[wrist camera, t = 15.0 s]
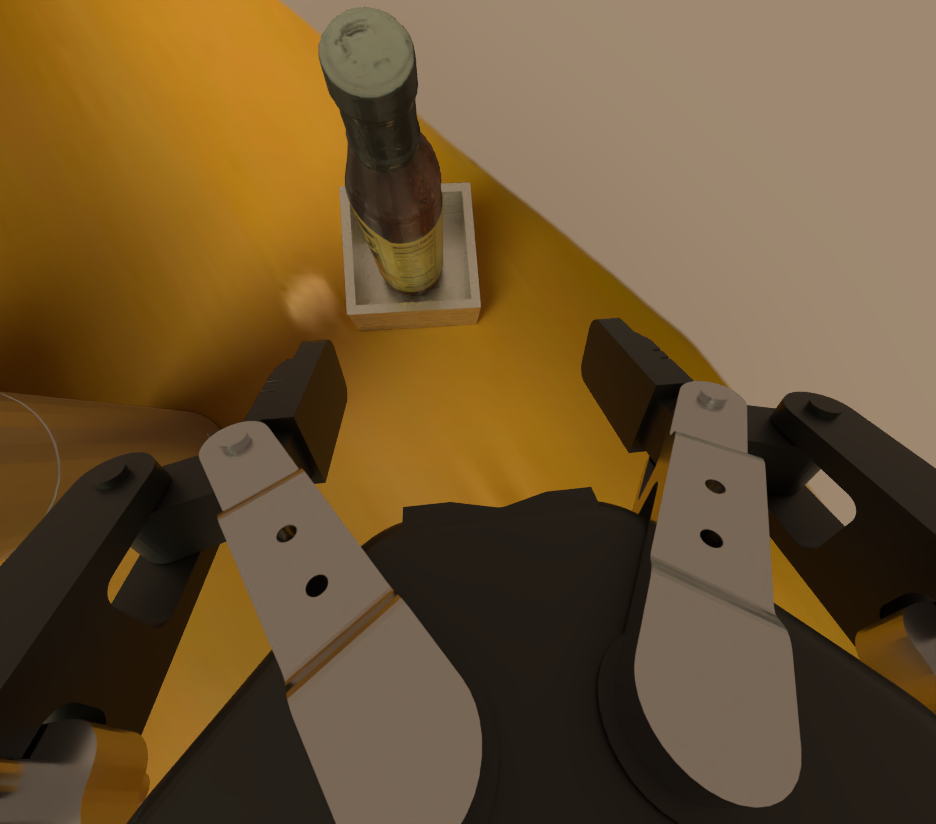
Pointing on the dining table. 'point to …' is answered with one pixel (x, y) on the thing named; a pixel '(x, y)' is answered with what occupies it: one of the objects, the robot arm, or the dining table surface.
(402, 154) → the sauce bottle
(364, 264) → the tray
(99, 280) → the dining table surface
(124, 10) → the dining table surface
